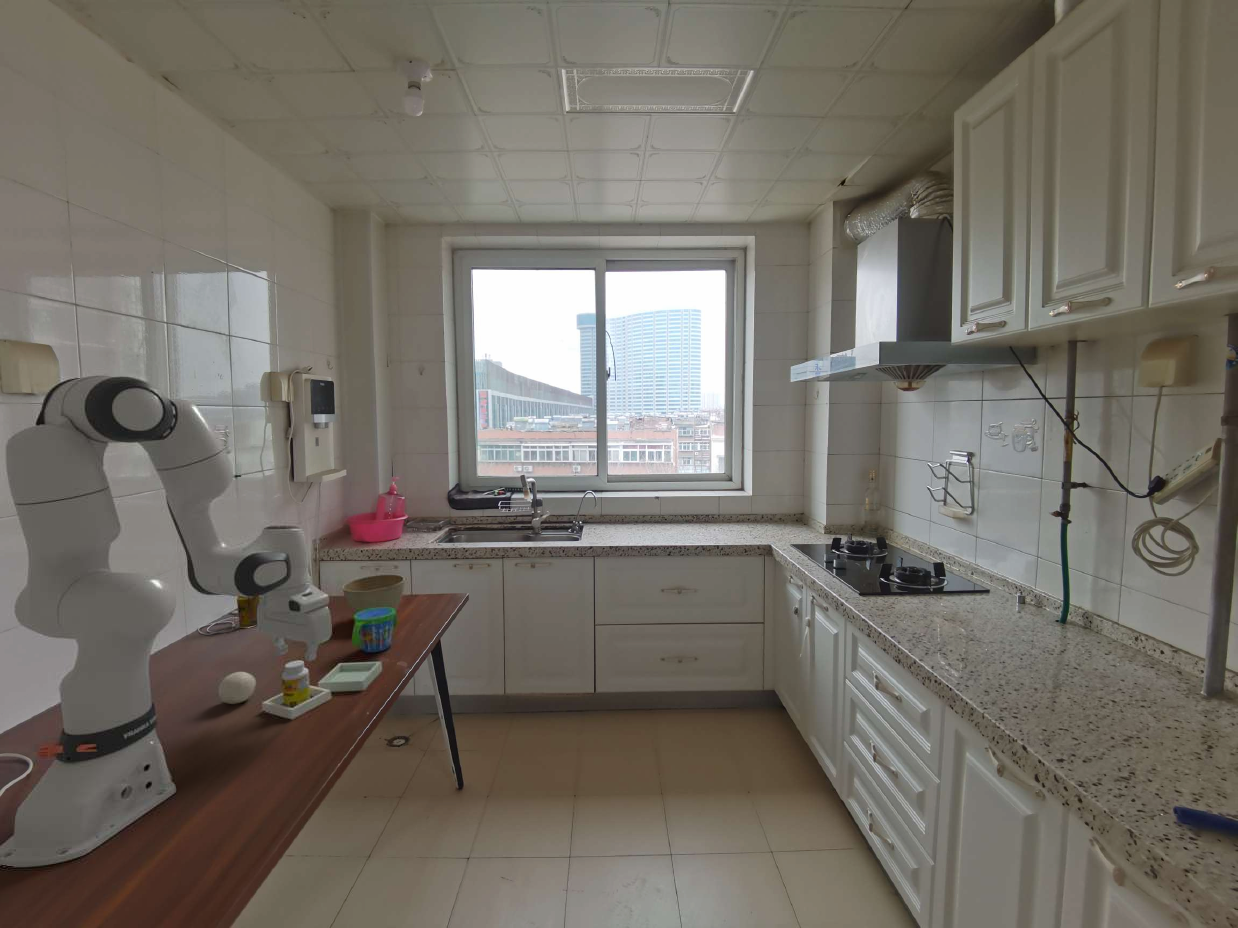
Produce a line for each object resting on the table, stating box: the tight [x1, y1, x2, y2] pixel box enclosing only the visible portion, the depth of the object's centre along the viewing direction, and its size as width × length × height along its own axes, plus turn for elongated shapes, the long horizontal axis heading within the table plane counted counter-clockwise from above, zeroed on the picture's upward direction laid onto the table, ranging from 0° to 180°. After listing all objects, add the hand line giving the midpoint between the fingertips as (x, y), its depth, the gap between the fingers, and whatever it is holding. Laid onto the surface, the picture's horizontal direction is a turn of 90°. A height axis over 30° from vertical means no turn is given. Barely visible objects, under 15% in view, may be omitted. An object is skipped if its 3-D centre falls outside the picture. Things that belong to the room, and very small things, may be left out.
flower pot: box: [342, 574, 405, 615], centre depth 181 cm, size 18×18×12 cm
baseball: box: [217, 671, 257, 705], centre depth 129 cm, size 7×7×7 cm
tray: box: [317, 661, 383, 693], centre depth 137 cm, size 11×11×2 cm
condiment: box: [233, 596, 260, 629], centre depth 181 cm, size 7×8×12 cm
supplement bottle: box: [281, 659, 312, 708], centre depth 126 cm, size 5×5×10 cm
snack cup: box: [351, 607, 399, 653], centre depth 157 cm, size 16×10×10 cm
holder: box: [261, 685, 332, 720], centre depth 126 cm, size 10×10×2 cm
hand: (296, 656), depth 126 cm, fingers open, 8 cm apart
